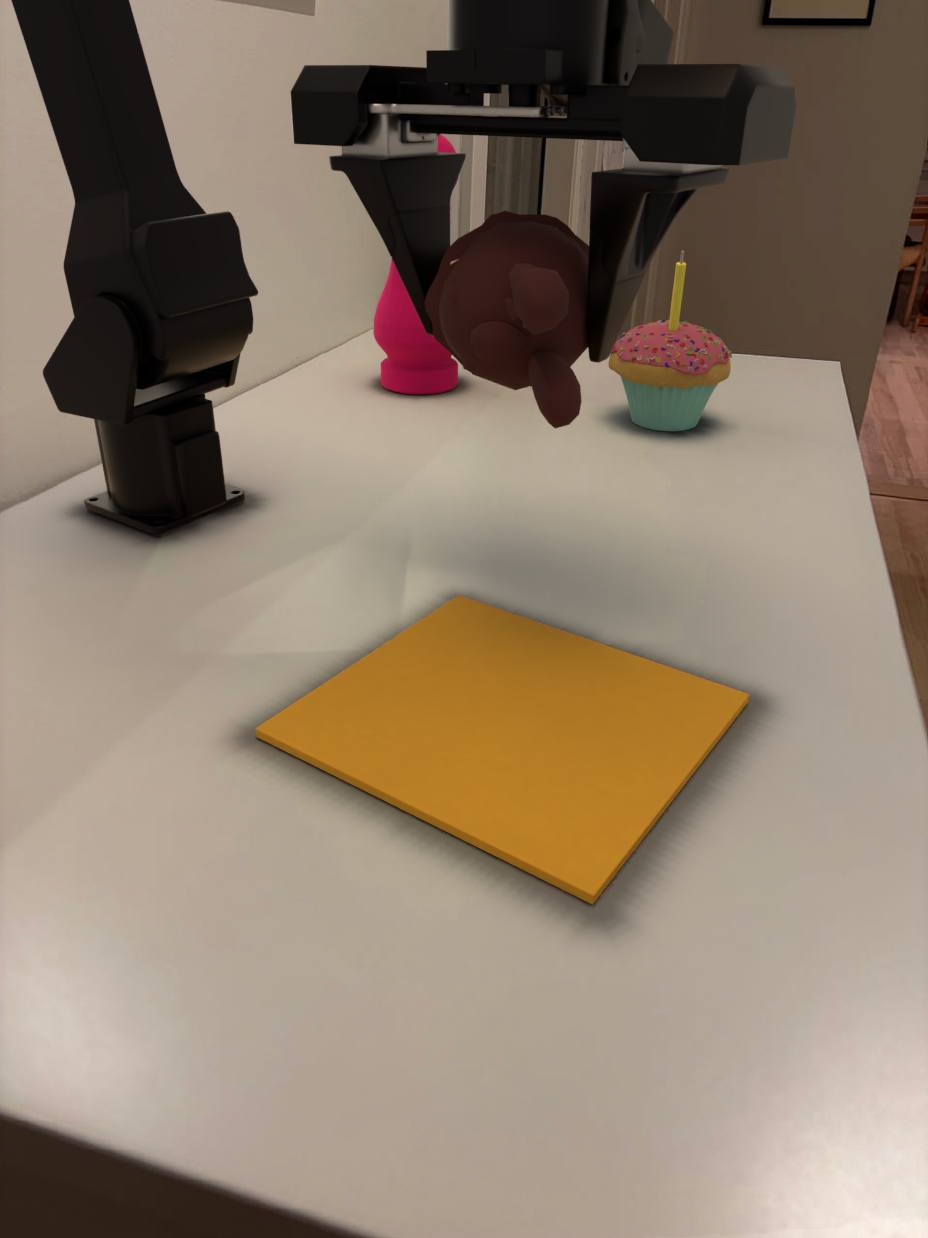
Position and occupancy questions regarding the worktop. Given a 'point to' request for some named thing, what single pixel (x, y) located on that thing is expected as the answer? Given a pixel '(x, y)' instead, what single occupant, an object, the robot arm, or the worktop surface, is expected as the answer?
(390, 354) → the pepper mill
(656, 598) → the worktop surface
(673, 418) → the cupcake
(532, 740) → the flat square board
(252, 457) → the worktop surface
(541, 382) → the brown lumpy figure
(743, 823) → the worktop surface
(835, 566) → the worktop surface
